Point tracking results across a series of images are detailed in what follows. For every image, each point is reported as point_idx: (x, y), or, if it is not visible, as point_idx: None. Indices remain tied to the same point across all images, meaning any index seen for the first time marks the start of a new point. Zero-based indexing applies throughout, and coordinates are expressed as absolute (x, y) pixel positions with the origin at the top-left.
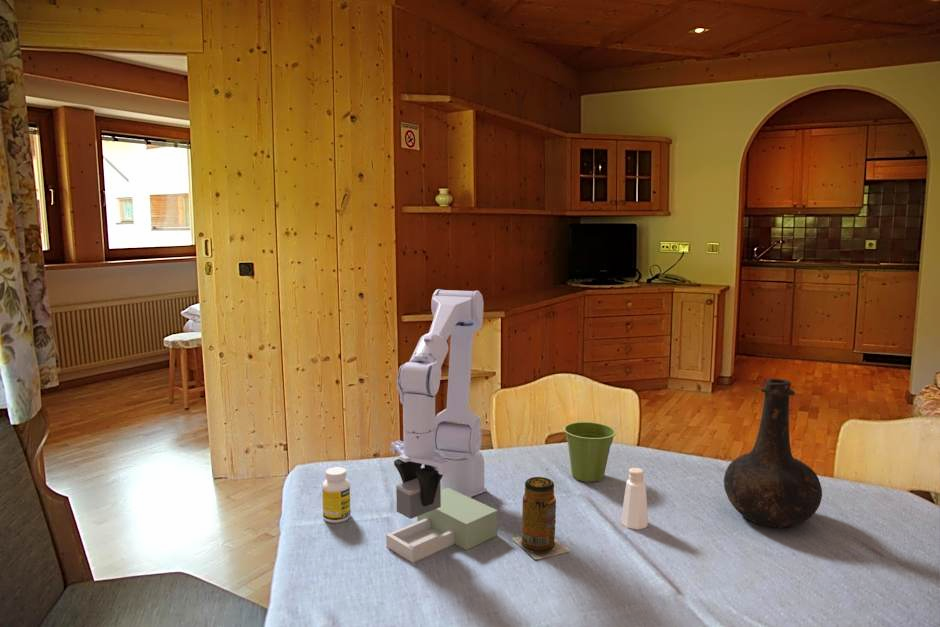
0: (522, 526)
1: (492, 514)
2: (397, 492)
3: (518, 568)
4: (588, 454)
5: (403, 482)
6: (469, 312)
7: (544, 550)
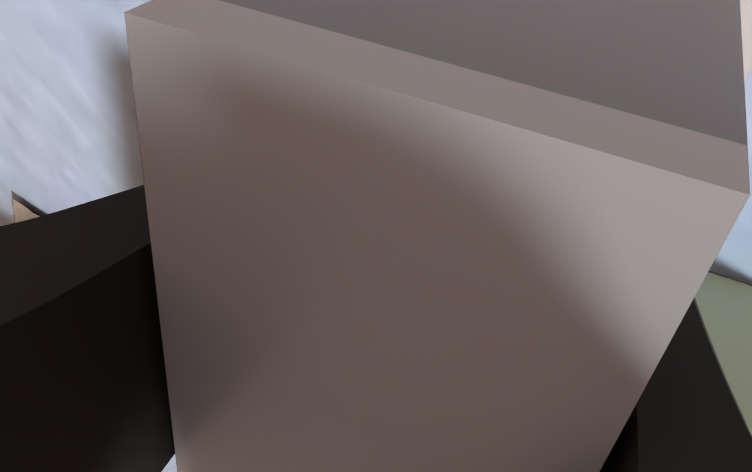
0: None
1: None
2: (696, 87)
3: (3, 106)
4: None
5: (731, 450)
6: None
7: None
